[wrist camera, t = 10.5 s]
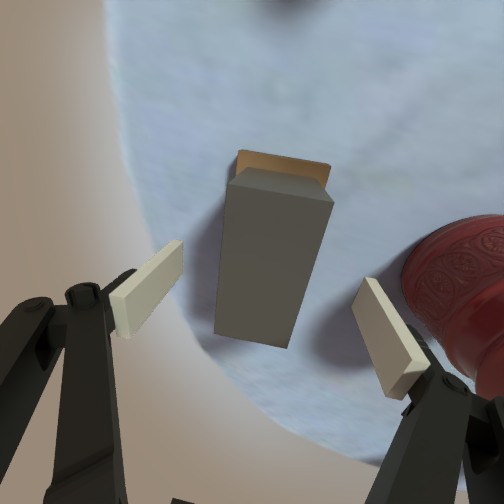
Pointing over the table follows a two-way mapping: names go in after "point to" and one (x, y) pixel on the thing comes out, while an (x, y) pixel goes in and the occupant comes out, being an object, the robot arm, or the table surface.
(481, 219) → the canister
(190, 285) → the table surface
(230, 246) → the grey bevelled block
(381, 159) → the table surface
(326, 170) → the block
